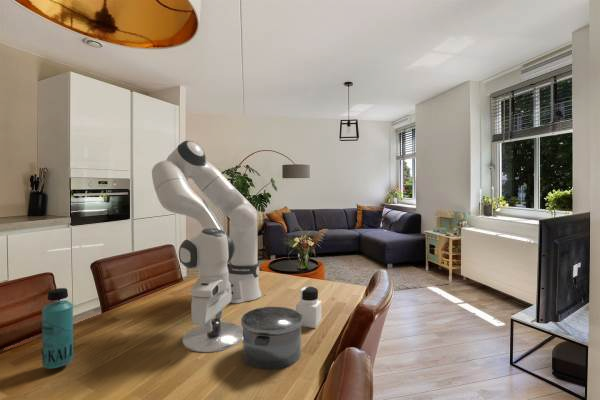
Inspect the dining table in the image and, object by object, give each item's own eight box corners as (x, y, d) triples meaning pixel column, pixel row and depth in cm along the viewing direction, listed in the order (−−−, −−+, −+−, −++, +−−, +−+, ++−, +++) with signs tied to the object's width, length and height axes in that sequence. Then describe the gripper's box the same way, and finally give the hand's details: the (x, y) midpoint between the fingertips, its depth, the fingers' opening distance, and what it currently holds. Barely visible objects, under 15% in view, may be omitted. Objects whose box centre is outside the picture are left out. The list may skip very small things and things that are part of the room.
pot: (227, 371, 79) (227, 332, 79) (255, 333, 101) (255, 302, 100) (294, 379, 76) (294, 338, 76) (307, 338, 98) (308, 305, 97)
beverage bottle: (53, 361, 84) (52, 285, 83) (80, 360, 84) (79, 285, 84) (35, 375, 77) (33, 293, 77) (64, 374, 78) (62, 293, 77)
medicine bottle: (321, 320, 111) (322, 286, 111) (315, 328, 104) (316, 292, 104) (302, 317, 113) (302, 284, 113) (295, 325, 107) (295, 290, 106)
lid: (169, 349, 91) (169, 331, 91) (201, 323, 109) (201, 308, 108) (229, 356, 87) (229, 338, 87) (251, 328, 105) (251, 312, 105)
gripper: (218, 273, 108) (218, 313, 109) (186, 292, 88) (187, 341, 89) (236, 274, 107) (236, 314, 108) (208, 293, 87) (208, 343, 87)
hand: (213, 327), depth 98 cm, fingers open, 5 cm apart
